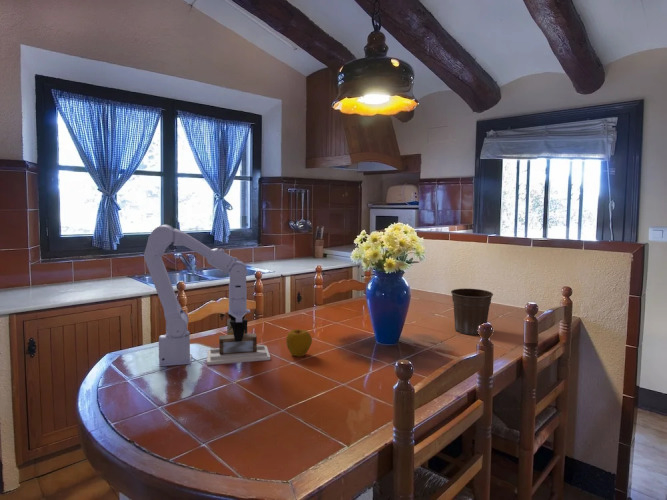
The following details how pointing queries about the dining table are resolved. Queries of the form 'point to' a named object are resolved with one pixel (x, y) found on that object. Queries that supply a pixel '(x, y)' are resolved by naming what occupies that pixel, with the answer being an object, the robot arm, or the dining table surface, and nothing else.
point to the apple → (298, 342)
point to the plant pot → (470, 309)
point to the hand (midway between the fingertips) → (237, 337)
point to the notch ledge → (237, 356)
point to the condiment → (230, 329)
